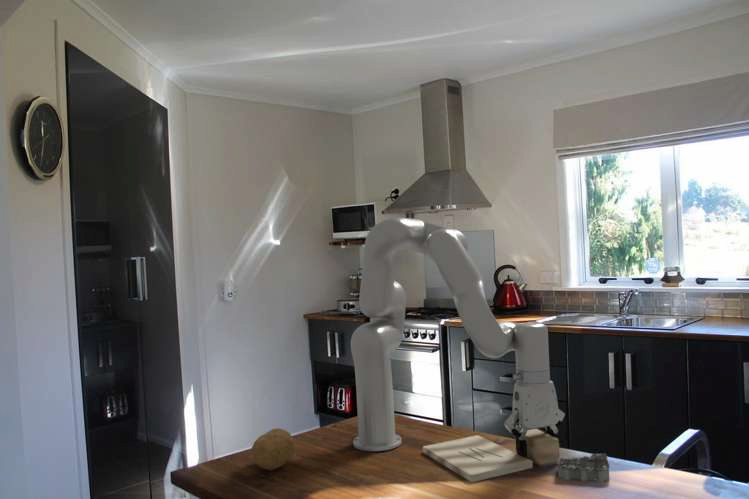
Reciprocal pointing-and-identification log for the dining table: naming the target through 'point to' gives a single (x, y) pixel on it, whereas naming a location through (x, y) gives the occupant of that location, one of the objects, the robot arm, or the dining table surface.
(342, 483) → the dining table surface
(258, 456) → the potato
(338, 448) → the dining table surface
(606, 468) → the egg carton
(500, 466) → the board
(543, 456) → the block
